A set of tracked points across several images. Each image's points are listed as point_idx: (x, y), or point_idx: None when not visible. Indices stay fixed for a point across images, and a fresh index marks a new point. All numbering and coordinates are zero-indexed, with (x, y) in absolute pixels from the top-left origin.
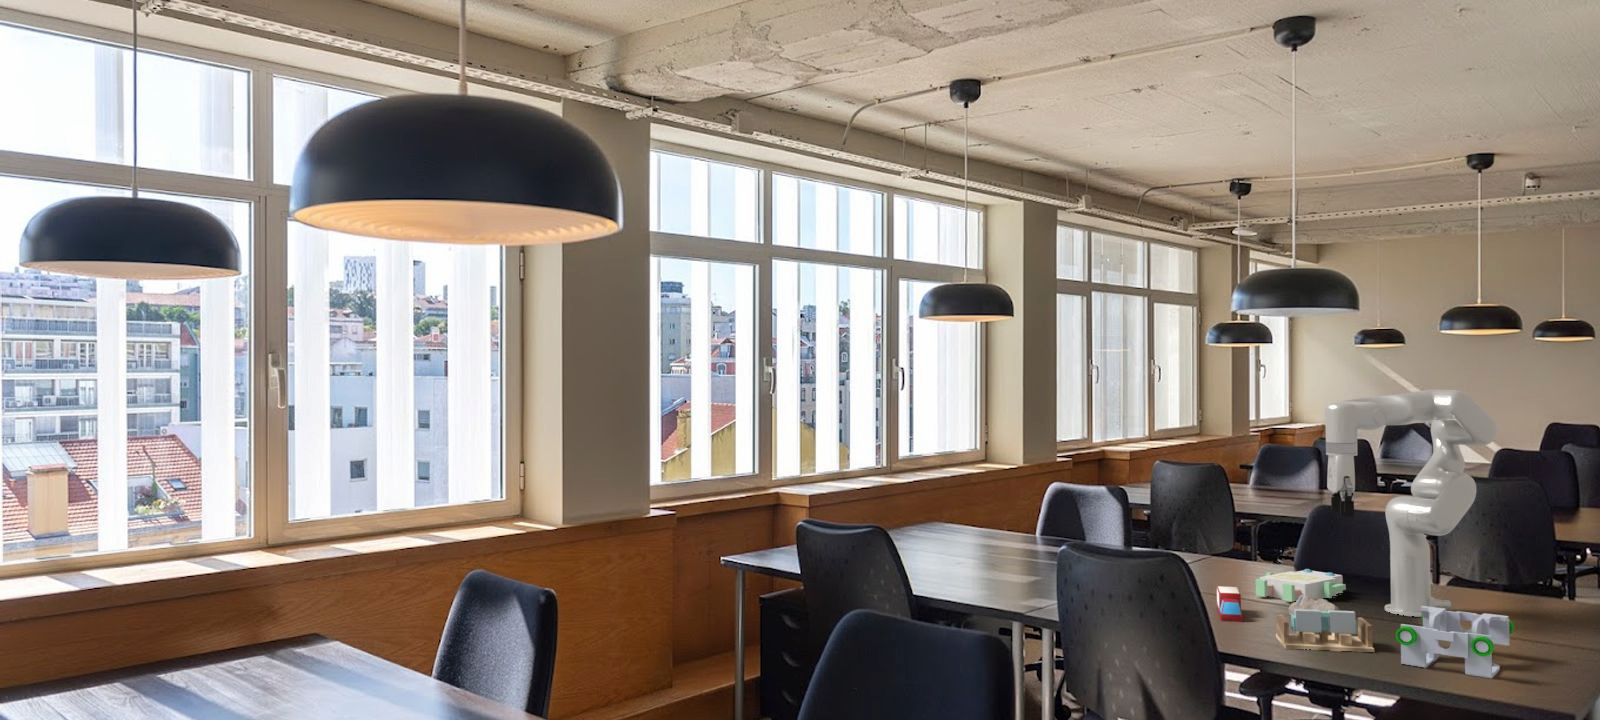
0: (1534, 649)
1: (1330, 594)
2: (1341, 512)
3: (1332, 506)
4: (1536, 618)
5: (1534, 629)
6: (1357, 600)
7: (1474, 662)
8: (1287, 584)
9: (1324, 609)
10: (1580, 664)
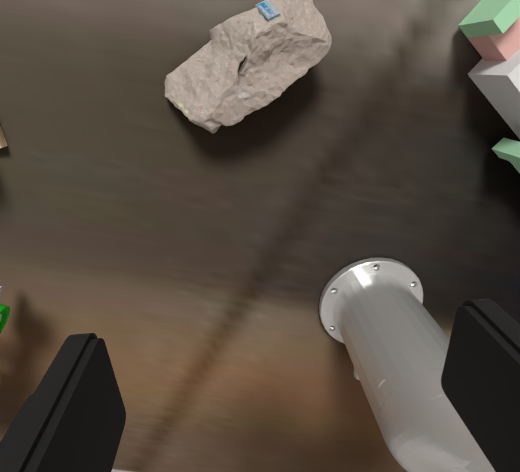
0: None
1: (501, 155)
2: (58, 366)
3: (492, 337)
4: (344, 455)
5: (257, 441)
6: (500, 218)
7: None
8: (511, 5)
9: (202, 88)
10: None
